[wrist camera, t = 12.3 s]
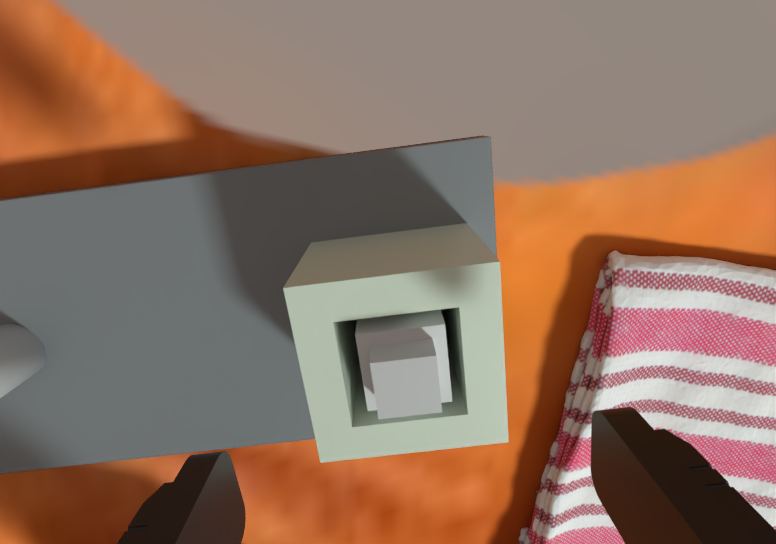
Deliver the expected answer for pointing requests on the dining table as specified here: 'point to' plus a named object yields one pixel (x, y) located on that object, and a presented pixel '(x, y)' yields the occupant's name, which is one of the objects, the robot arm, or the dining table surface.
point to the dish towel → (668, 382)
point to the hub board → (209, 302)
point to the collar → (392, 297)
